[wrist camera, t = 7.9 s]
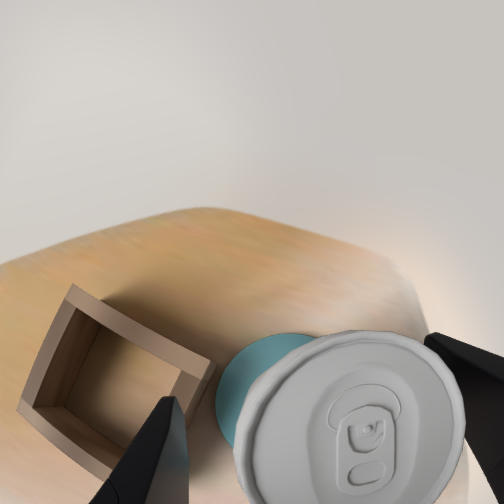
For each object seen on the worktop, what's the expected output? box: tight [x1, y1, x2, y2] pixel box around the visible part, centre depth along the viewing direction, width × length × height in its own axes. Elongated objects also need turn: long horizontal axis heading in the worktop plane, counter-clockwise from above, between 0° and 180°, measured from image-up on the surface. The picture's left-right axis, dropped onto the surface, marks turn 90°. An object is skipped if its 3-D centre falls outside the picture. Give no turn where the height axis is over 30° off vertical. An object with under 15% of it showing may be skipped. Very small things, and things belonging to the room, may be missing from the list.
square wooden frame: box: [16, 283, 218, 482], centre depth 14 cm, size 9×9×4 cm
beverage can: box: [233, 330, 466, 504], centre depth 10 cm, size 5×5×12 cm
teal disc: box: [215, 334, 316, 448], centre depth 16 cm, size 8×8×1 cm
